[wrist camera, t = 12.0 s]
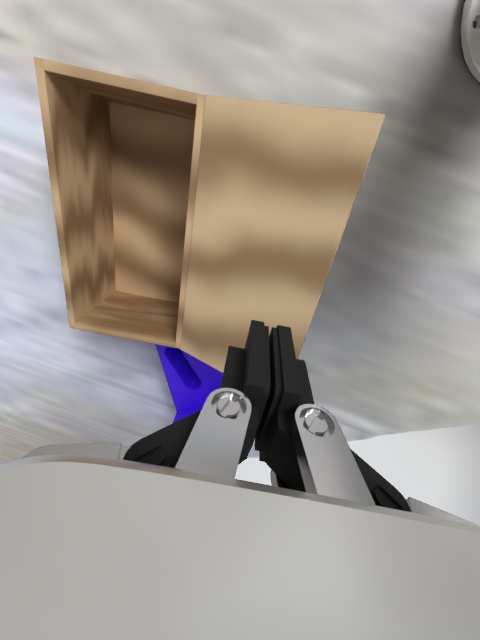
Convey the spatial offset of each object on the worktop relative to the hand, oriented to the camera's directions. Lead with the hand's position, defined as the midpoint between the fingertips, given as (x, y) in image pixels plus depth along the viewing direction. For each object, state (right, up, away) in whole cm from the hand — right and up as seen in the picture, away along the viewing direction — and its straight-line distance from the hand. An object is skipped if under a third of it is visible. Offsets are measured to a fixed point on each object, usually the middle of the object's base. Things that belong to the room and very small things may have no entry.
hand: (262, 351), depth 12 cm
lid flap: (0, +5, +10) cm, 12 cm away
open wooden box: (-11, +14, +21) cm, 27 cm away
